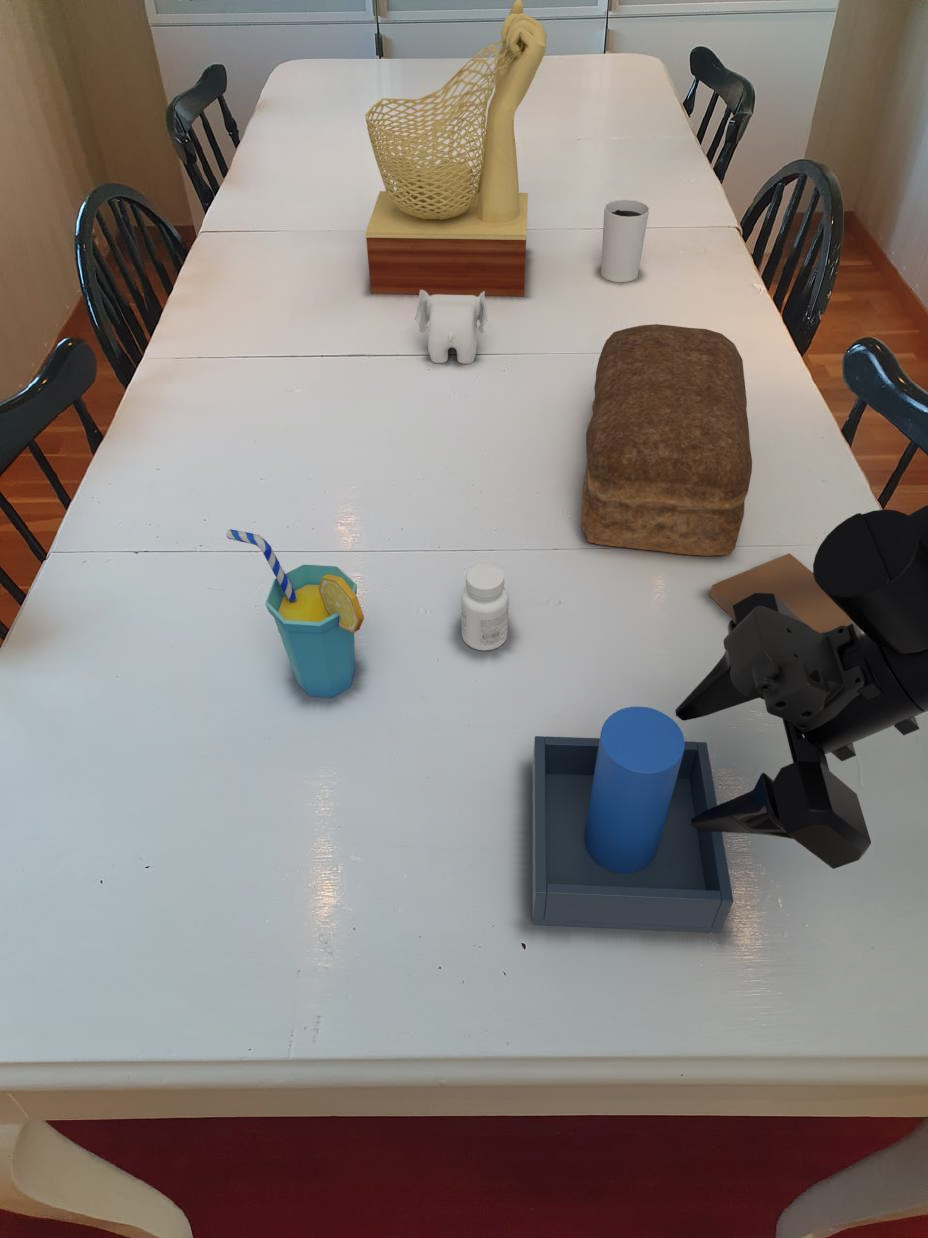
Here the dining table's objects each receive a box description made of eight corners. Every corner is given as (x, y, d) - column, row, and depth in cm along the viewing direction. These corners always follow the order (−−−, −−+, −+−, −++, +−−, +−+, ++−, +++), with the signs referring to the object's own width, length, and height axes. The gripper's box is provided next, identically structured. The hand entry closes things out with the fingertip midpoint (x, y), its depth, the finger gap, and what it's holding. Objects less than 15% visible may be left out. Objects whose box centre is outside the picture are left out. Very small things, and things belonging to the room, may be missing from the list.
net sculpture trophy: (536, 250, 148) (548, -7, 123) (535, 301, 135) (548, 27, 110) (384, 247, 149) (365, -7, 124) (369, 298, 136) (345, 26, 111)
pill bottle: (515, 629, 87) (518, 570, 82) (492, 658, 85) (493, 598, 79) (477, 612, 89) (477, 553, 83) (452, 640, 86) (451, 581, 81)
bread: (729, 409, 114) (751, 310, 105) (737, 569, 93) (767, 463, 84) (593, 397, 116) (603, 299, 107) (572, 552, 95) (582, 446, 86)
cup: (231, 674, 84) (195, 551, 73) (281, 621, 88) (255, 498, 78) (359, 731, 79) (340, 608, 68) (404, 671, 84) (394, 548, 73)
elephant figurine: (490, 330, 129) (491, 269, 123) (486, 374, 121) (487, 310, 114) (423, 328, 129) (420, 268, 123) (415, 372, 121) (411, 309, 115)
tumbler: (671, 857, 69) (701, 755, 60) (607, 884, 67) (628, 784, 58) (632, 800, 73) (655, 695, 63) (571, 825, 71) (585, 722, 62)
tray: (696, 777, 75) (706, 741, 72) (720, 933, 66) (733, 901, 62) (532, 770, 76) (534, 735, 72) (532, 925, 66) (535, 893, 63)
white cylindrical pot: (599, 283, 139) (606, 216, 132) (596, 264, 144) (602, 199, 137) (643, 283, 139) (652, 216, 132) (638, 264, 144) (647, 199, 136)
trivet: (857, 624, 87) (862, 613, 86) (777, 661, 84) (781, 650, 83) (786, 563, 94) (789, 552, 92) (709, 595, 90) (711, 584, 89)
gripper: (798, 495, 57) (604, 612, 66) (877, 729, 44) (622, 839, 53) (884, 589, 63) (695, 687, 71) (977, 824, 50) (731, 910, 58)
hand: (686, 768), depth 63 cm, fingers open, 9 cm apart
